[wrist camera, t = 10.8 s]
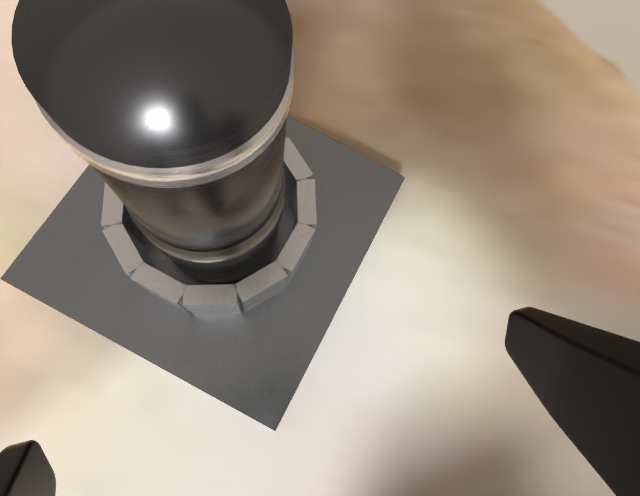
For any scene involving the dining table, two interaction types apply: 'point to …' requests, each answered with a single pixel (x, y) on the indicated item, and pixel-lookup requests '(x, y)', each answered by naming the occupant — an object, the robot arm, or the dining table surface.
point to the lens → (172, 115)
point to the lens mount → (217, 298)
